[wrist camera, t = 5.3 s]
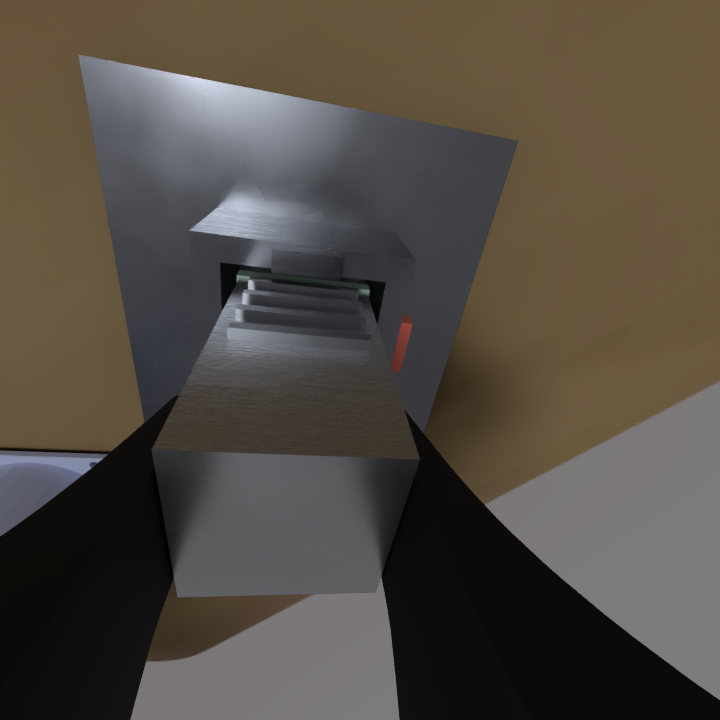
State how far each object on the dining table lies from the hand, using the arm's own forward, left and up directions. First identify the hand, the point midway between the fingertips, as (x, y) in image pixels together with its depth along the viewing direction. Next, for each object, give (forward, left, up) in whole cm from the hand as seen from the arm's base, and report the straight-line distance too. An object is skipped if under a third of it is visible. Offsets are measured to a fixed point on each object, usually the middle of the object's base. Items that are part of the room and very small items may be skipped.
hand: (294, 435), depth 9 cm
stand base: (0, 0, -9) cm, 9 cm away
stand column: (0, 0, -5) cm, 5 cm away
